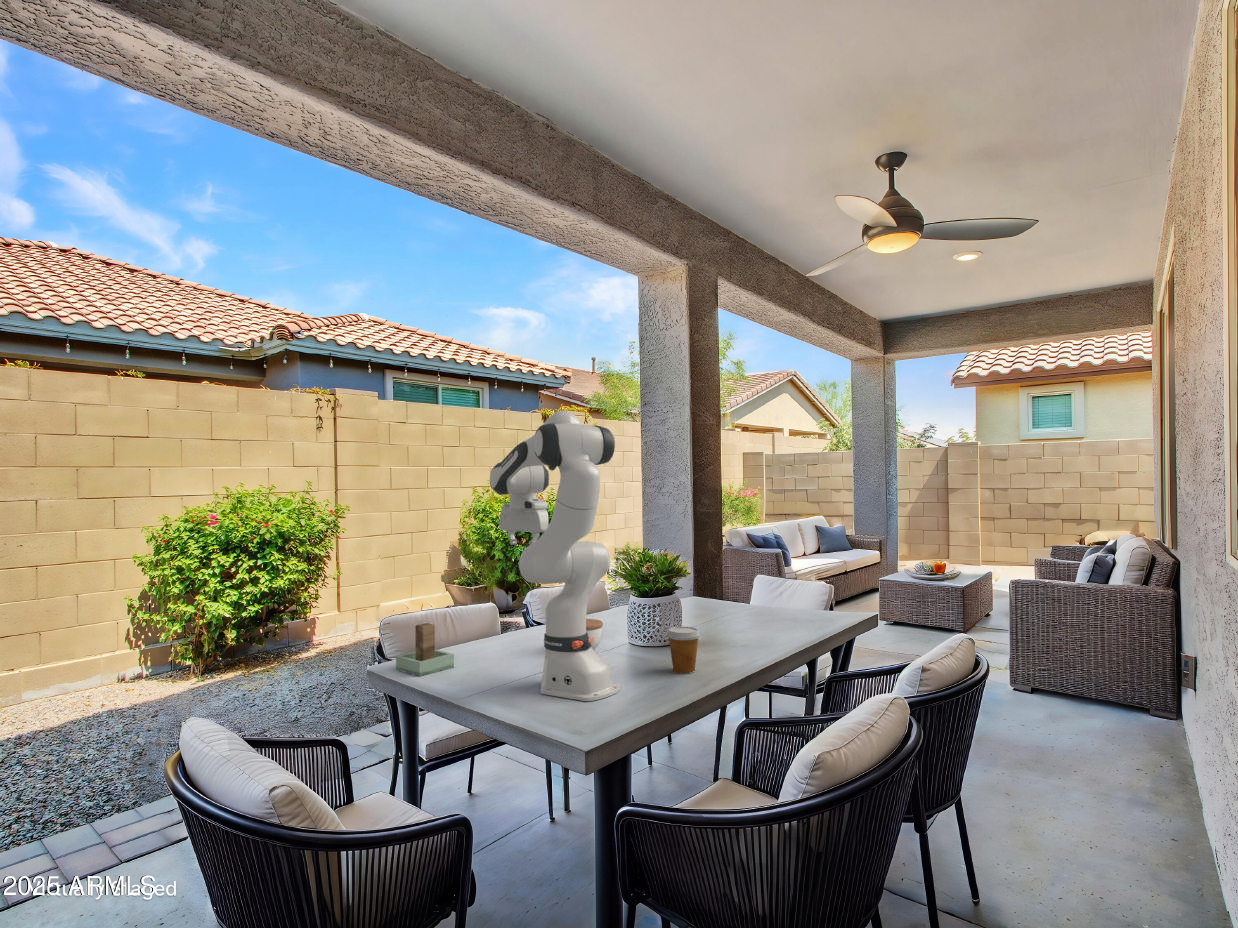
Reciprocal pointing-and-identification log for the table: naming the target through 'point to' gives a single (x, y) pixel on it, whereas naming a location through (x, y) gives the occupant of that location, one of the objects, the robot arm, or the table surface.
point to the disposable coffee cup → (683, 648)
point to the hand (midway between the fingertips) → (523, 545)
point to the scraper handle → (424, 642)
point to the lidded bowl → (594, 631)
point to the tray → (424, 663)
